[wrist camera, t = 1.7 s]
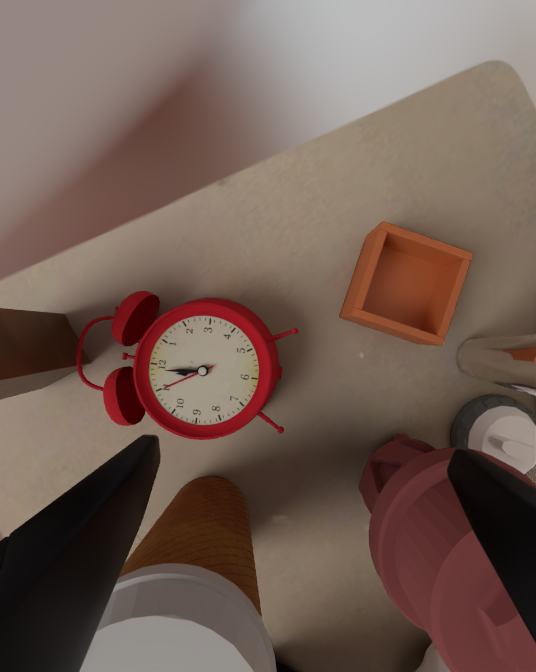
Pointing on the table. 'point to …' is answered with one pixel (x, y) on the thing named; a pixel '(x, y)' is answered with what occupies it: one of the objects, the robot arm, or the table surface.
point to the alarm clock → (190, 366)
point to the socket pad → (406, 285)
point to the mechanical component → (440, 560)
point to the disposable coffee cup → (188, 593)
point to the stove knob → (498, 430)
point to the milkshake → (501, 361)
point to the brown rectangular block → (35, 350)
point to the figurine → (432, 661)
